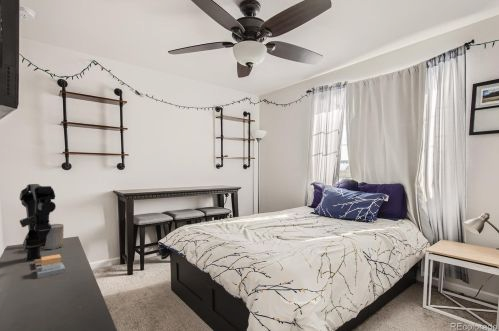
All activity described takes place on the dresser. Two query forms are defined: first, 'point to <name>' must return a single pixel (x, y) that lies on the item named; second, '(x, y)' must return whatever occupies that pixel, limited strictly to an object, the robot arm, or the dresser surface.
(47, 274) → the slate stand
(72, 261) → the dresser surface
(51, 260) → the cover
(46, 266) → the housing base
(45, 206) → the robot arm
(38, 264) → the walnut stand
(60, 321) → the dresser surface
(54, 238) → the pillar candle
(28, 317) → the dresser surface
